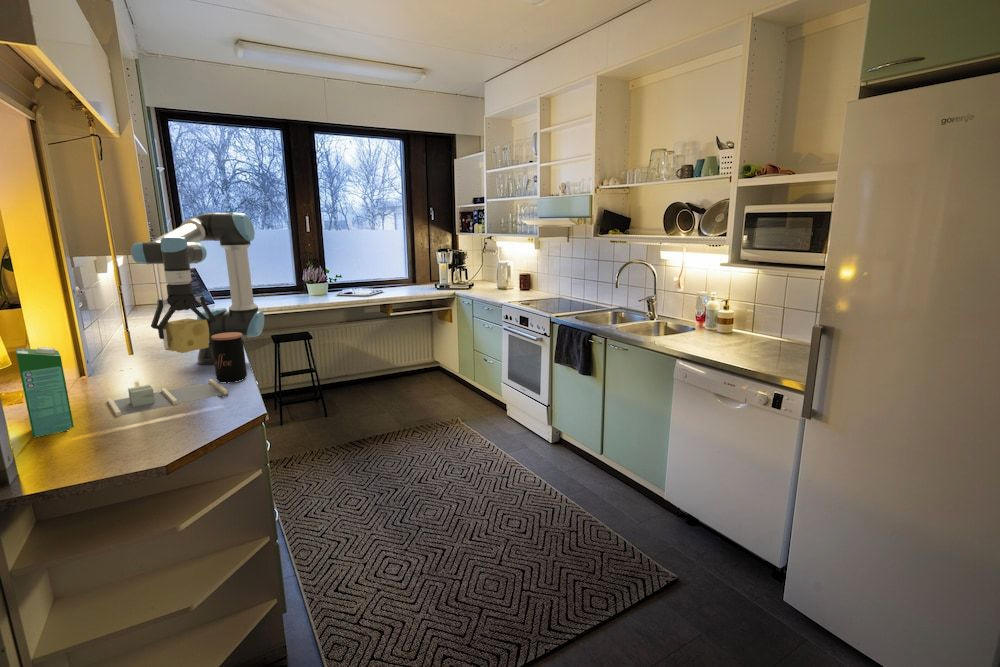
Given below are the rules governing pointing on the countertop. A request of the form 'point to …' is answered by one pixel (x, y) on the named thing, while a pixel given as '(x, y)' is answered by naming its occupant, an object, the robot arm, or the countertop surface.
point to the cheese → (187, 335)
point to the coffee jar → (229, 357)
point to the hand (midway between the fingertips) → (187, 345)
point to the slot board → (170, 397)
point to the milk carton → (44, 390)
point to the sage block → (141, 395)
